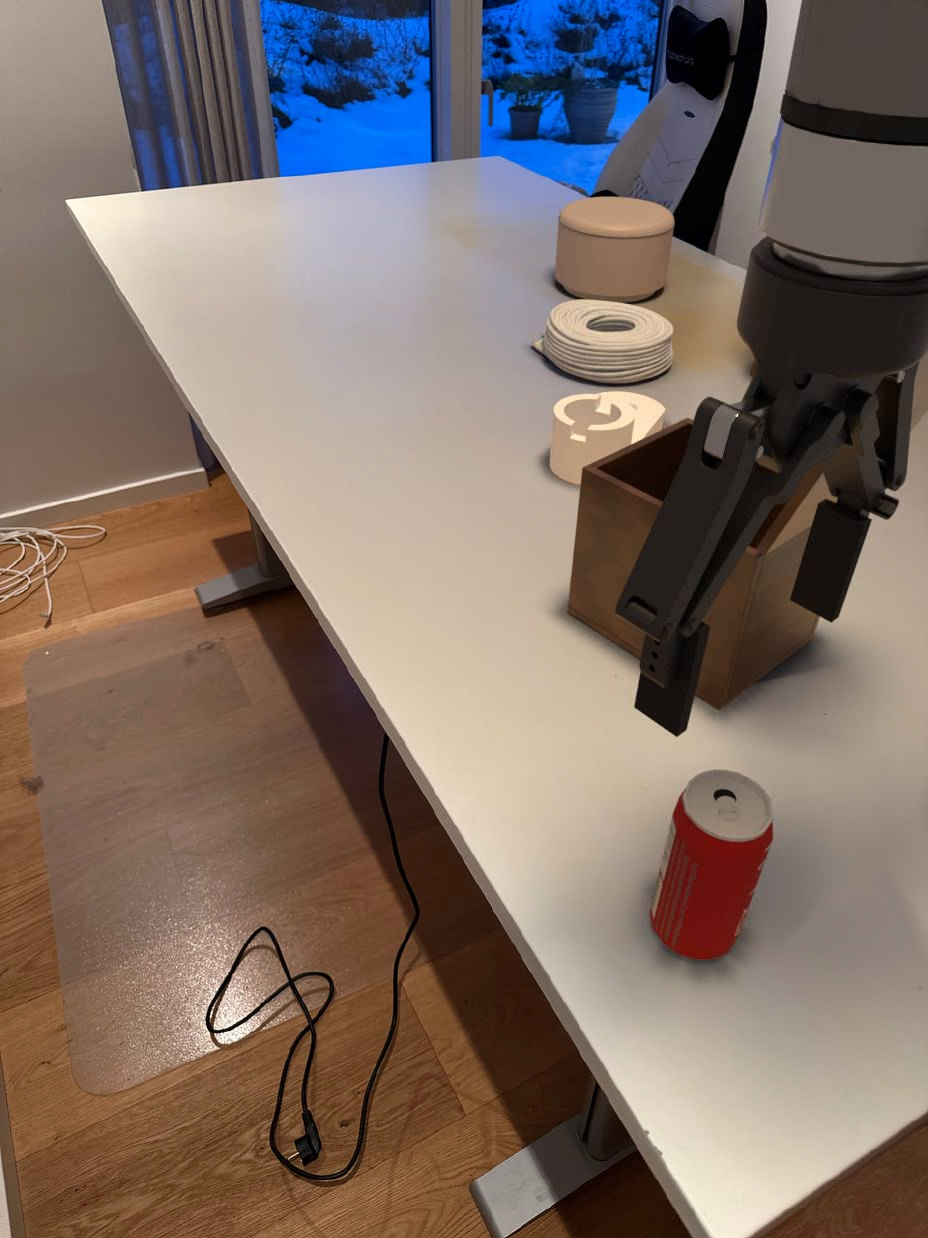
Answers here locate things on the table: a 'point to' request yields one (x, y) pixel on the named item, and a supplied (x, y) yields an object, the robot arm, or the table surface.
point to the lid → (815, 486)
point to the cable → (607, 341)
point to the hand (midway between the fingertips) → (742, 660)
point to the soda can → (711, 863)
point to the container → (613, 248)
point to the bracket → (599, 428)
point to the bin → (747, 603)
